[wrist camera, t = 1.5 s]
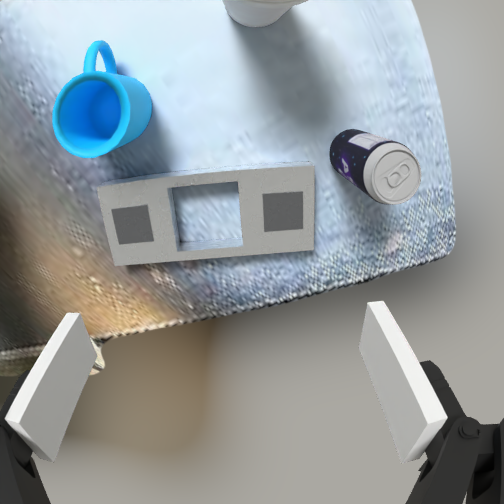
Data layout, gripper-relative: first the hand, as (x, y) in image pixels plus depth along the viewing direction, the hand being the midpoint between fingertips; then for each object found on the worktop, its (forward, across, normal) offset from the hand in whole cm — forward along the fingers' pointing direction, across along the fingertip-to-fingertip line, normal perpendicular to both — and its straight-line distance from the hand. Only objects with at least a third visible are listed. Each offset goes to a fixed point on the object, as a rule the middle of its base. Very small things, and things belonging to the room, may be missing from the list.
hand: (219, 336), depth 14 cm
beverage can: (+26, +14, +4) cm, 29 cm away
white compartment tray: (+25, -3, -3) cm, 25 cm away
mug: (+25, -12, +12) cm, 30 cm away
